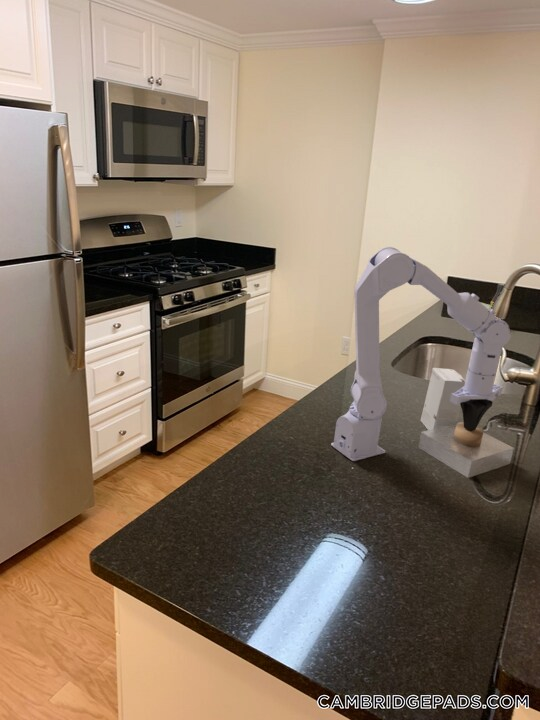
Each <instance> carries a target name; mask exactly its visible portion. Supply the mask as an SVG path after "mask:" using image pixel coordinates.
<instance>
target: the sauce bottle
mask: <svg viewBox="0 0 540 720" xmlns="http://www.w3.org/2000/svg"><path fill="white" fill-rule="evenodd" d="M504 284H505V283H502V282H501V283H497V287H496V288H497V290H496V292H495V294H494V296H493V297H492V299H491V301H490V303H489V305H490V307H489V309H491V307H492V305H493V303H494V301H495V300H496V298H497V297H498V295H499V293H500V291H501V290H502V288H503V286H504Z"/></svg>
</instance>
